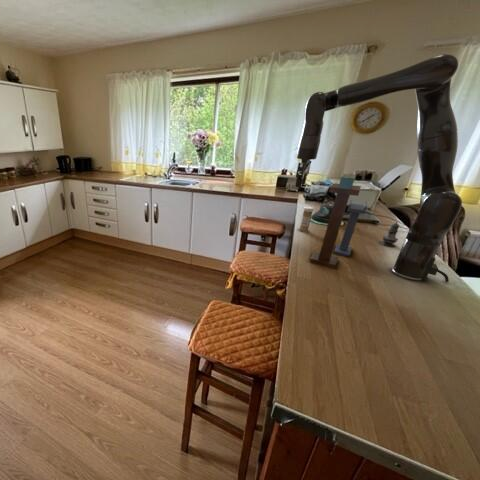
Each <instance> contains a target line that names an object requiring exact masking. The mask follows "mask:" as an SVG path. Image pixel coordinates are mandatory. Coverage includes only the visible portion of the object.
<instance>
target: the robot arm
mask: <svg viewBox="0 0 480 480" xmlns="http://www.w3.org/2000/svg"><path fill="white" fill-rule="evenodd" d="M458 68H459V59H458V58H457V57H456V56H455V55H453V54H452V53H451V54H450V53H439V54H436V55H434V56H432V57H429V58H427V59H425V60H422V61H420V62H418V63H414V64H412V65H409V66H408V67H405V68H402V69H399V70H396V71H393V72H389V73H386V74H383V75H379V76H376V77H371V78H367V79H364V80H359V81H357V82H356V81H355V82H353V83H349V84H346V85H343V86H340V87H338V89H334V90H330V91H327V92H324V91H316V92H314V93H312V94H311V95H310V96H309V98H308V99H307V101H306V105H305V111H304V124H303V127H302V132H301V135H300V138H299V139H300V140H299V143H298V149H297V152H296V159H298V160H300V161H299V162H298V164H297V169H296V173H295V178H296V180H295V185H294V188H301V187H302V186H303V185H304V186H305V185H306V181H307V177H308V175H309V174H310V169H311V166H312V165H311V164H312V162H313V161H312V160H317V157H318V154H319V153H318V152H319V149H320V144H321V139H322V138H321V136H322V132H323V128H324V118H325V117H324V116H325V113H326V112H328V111H329V112H330V111H331V110H335V109H339V108H341V107H342V108H343V107H347V106H352V105H356V104H359V103H365V102H367V101H370V100H374V99H376V98H379V97H383V96H386V95H389V94H392V93H393V94H394V93H397V92H401V91H402V92H403V91H407V90H414V93H415V97H416V103H417V121H416V148H417V149H416V151H417V159H418V163H419V164H418V165H419V170H420V173H421V190H420V198H419V206H420V208H419V210H418V213H417V215H416V217H415V219H414V221H413V222H412V223H411V224H410V227H409V230H408V232H407V234H406V236H405V239H404V241H403V243H402V247H401V249H400V251H399V253H398V256H397V258H396V260H395V262H394V265H393V267H392V269H391V272H392V273H394V274H395V275H397V276H399V277H401V278H403V279H407V280H410V281H411V280H412V281H418V282H419V281H420V282H426V280H427V278H428V275H432V276H437V274H438V273H439V274H440V275H442V276H443V277H444V281H445V283H449V282H450V279H449V276H448V275H447V274H446V273H445V272H444V271H442V270H440V269H439V267H438V265H437V264H436V263H435V262H436V260H437V259H436V255H437V253H438V251H439V249H440V247H441V244H442V242H443V240H444V238H445V236H446V235H447V233H448V232H449V231H450V230H451V228H452V226H453V225H454V223H455V221H456V219H457V217H458V215H459V213H460V211H461V210H462V206H463V200H462V198H461V196H460V195H459V194H457V193H456V188H455V183H454V177H453V176H454V175H453V170H454V165H455V162H456V157H457V153H458V147H459V145H458V144H459V135H458V134H459V133H458V123H457V120H456V115H455V112H454V110H453V107H452V103H451V85H452V78H453V77H454V75H455V74H456V72H457V71H458Z"/></svg>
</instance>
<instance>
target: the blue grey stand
mask: <svg viewBox="0 0 480 480" xmlns="http://www.w3.org/2000/svg"><path fill="white" fill-rule="evenodd" d="M352 202H353V200H352V199H350V201H349V203H348V206H347V209H346V212H350V214H349V216H348V219H347V223H346V226H345V229H344V233H343V236H342V238H341V242H340V244H337V243H336V244H335V247H334V248H335V249H334V250H333V254H335V255H339V256H342V257H343V256H344V257H347V258H350V257H351V254H352V250H353V249H352V247H351V246H350V243H351V240H352V237H353V234H354V231H355V229H356V225H357V222H358V220H359V217H360V216H359V215H360V214H361V215H365V213H366V209H367V207H368V201H365V202H364V204H357V203H352Z"/></svg>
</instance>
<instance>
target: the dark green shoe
mask: <svg viewBox="0 0 480 480" xmlns="http://www.w3.org/2000/svg"><path fill="white" fill-rule="evenodd" d="M332 209H333V205H330V204H321V205H320V207H319V210H317V211H316V212H314V213H312V216H311V220H310V222H313V223H316V224H319V225H325V226H328V223H329V219H330V216H331V212H332ZM343 225H344V221H342V222H341V225H340V226H343Z"/></svg>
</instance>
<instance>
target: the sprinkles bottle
mask: <svg viewBox="0 0 480 480" xmlns="http://www.w3.org/2000/svg"><path fill="white" fill-rule="evenodd" d="M313 212H314V207H313V206H304V207H303V211H302V216H301V220H300V225H299V228H298V230H299V231H300V232H302V233H303V232H304V233H306V232H308V231H309V228H310V224H311V216H312V215H313Z"/></svg>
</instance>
